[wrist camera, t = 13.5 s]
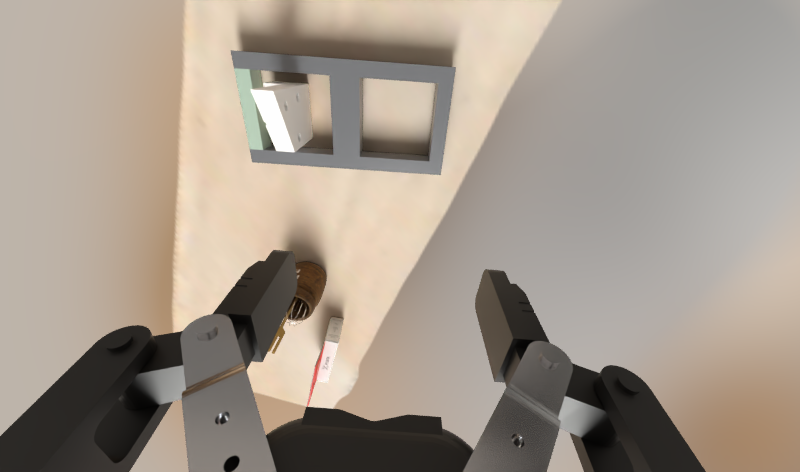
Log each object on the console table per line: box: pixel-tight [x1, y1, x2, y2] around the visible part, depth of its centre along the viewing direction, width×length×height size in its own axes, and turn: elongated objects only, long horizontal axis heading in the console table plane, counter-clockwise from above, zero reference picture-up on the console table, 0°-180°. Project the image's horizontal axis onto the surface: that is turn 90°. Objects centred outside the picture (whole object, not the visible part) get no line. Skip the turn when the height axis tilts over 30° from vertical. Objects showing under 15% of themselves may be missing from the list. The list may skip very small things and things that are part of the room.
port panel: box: [231, 51, 456, 175], centre depth 33 cm, size 11×22×2 cm, turn 86°
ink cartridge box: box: [307, 317, 344, 407], centre depth 49 cm, size 2×11×10 cm, turn 164°
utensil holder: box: [268, 262, 326, 354], centre depth 41 cm, size 6×6×12 cm
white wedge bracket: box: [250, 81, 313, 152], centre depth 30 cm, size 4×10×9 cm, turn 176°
